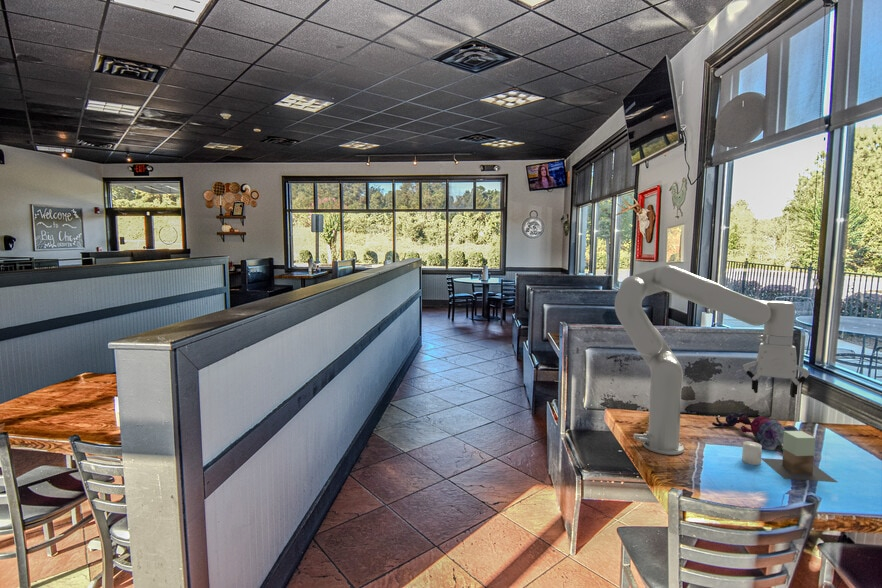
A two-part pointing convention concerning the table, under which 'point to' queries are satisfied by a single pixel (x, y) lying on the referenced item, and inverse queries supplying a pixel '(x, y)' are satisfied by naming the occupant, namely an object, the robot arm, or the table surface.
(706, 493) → the table surface
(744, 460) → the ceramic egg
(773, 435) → the toy
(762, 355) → the robot arm
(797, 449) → the block top
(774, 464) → the mat
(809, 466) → the block bottom
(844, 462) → the table surface
